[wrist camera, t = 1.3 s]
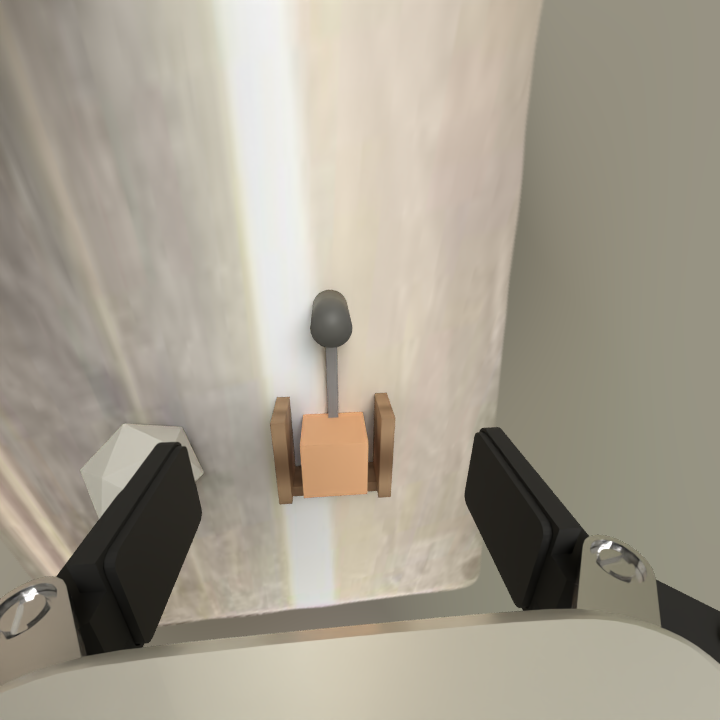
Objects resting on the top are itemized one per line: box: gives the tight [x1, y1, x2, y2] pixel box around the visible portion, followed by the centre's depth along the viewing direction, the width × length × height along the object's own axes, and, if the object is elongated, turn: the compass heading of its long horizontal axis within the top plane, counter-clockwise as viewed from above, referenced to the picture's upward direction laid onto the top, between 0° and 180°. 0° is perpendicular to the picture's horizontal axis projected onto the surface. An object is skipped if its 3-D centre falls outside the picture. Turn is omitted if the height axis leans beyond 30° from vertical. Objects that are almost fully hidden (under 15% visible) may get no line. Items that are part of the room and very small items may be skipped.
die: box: [80, 423, 204, 519], centre depth 30 cm, size 8×9×10 cm
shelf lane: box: [270, 393, 395, 504], centre depth 33 cm, size 10×11×4 cm
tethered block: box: [300, 290, 368, 498], centre depth 30 cm, size 18×6×6 cm, turn 0°
